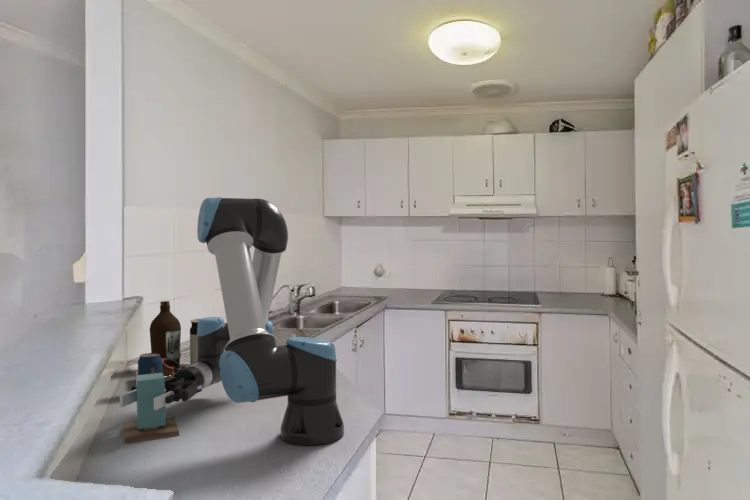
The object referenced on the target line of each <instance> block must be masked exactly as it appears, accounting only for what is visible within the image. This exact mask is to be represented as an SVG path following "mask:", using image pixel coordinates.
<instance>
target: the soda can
mask: <svg viewBox="0 0 750 500" xmlns="http://www.w3.org/2000/svg"><path fill="white" fill-rule="evenodd" d="M137 370H138V375H145V374H155V373H162V358H161V357H160V354H159V353H151V352H149V353H142V354H140V355H139V358H138V361H137Z"/></svg>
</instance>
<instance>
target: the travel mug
mask: <svg viewBox="0 0 750 500" xmlns="http://www.w3.org/2000/svg"><path fill="white" fill-rule="evenodd" d="M200 319H201V318H194V319H190V323H191V326H190V329H189V354H190V356H189V357H190V358H189V360H190V365H192V364H195V363H198V343H197V326H198V321H199V320H200ZM190 365H189V366H190Z"/></svg>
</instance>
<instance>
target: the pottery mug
mask: <svg viewBox="0 0 750 500" xmlns="http://www.w3.org/2000/svg"><path fill="white" fill-rule="evenodd" d="M164 362H166V363H167V365H166V364H165V363H164ZM168 365H174V367H175V372H173V368H172V367H169V366H168ZM181 366H182V365H181V364H179V363H177V362H176V361H174V360H171V359H168V358H163V359H162V370H164V371H165V372H168V373H169V374H171V376H174V375H175V373H176V372H177V371H178V370H180V369H181Z"/></svg>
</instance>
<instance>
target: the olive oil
mask: <svg viewBox="0 0 750 500" xmlns="http://www.w3.org/2000/svg"><path fill="white" fill-rule="evenodd" d="M170 302H171V301H169V300H164V301H163V300H162V301H160V305H159V309H160V310H159V313H158V314H157V315H156V316H155V317H154V319H153V320H152V321H151V323H150V327H149V338H150V339H149V340H150V350H151V351H150V353H159V354H160V357H161V358H162V359H163V358H168V359H171V360H174V361H176V362H177V363H179V364H180V363H181V356H182V354H181V338H182V337H181V334H182V333H181V332H182V326H181V323H180V321H179V319H178V318H177V317H176V316H175V315H174V314H173V313H172V312H171V305H170ZM164 363H165V364H166V365H167V363H166V362H164ZM180 365H181V364H180ZM168 366H169V367H174V365H168Z"/></svg>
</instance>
